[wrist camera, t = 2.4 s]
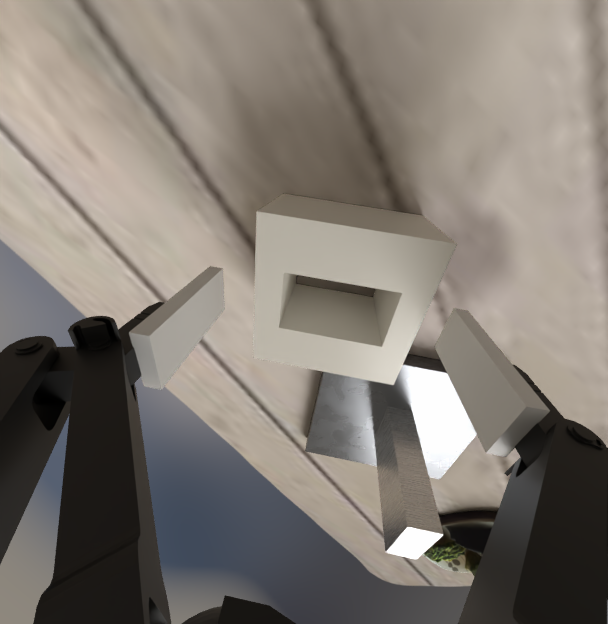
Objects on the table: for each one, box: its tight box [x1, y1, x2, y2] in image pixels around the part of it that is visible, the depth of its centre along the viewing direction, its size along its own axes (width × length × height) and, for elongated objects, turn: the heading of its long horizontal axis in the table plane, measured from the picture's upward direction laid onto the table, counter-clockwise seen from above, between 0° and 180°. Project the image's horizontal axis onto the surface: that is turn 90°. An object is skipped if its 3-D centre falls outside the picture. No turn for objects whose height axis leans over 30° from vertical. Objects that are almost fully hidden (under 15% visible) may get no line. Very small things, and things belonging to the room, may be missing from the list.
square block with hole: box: [253, 194, 457, 385], centre depth 16 cm, size 9×9×6 cm
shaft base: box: [305, 354, 477, 559], centre depth 22 cm, size 15×15×10 cm
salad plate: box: [422, 511, 497, 576], centre depth 36 cm, size 19×18×5 cm
